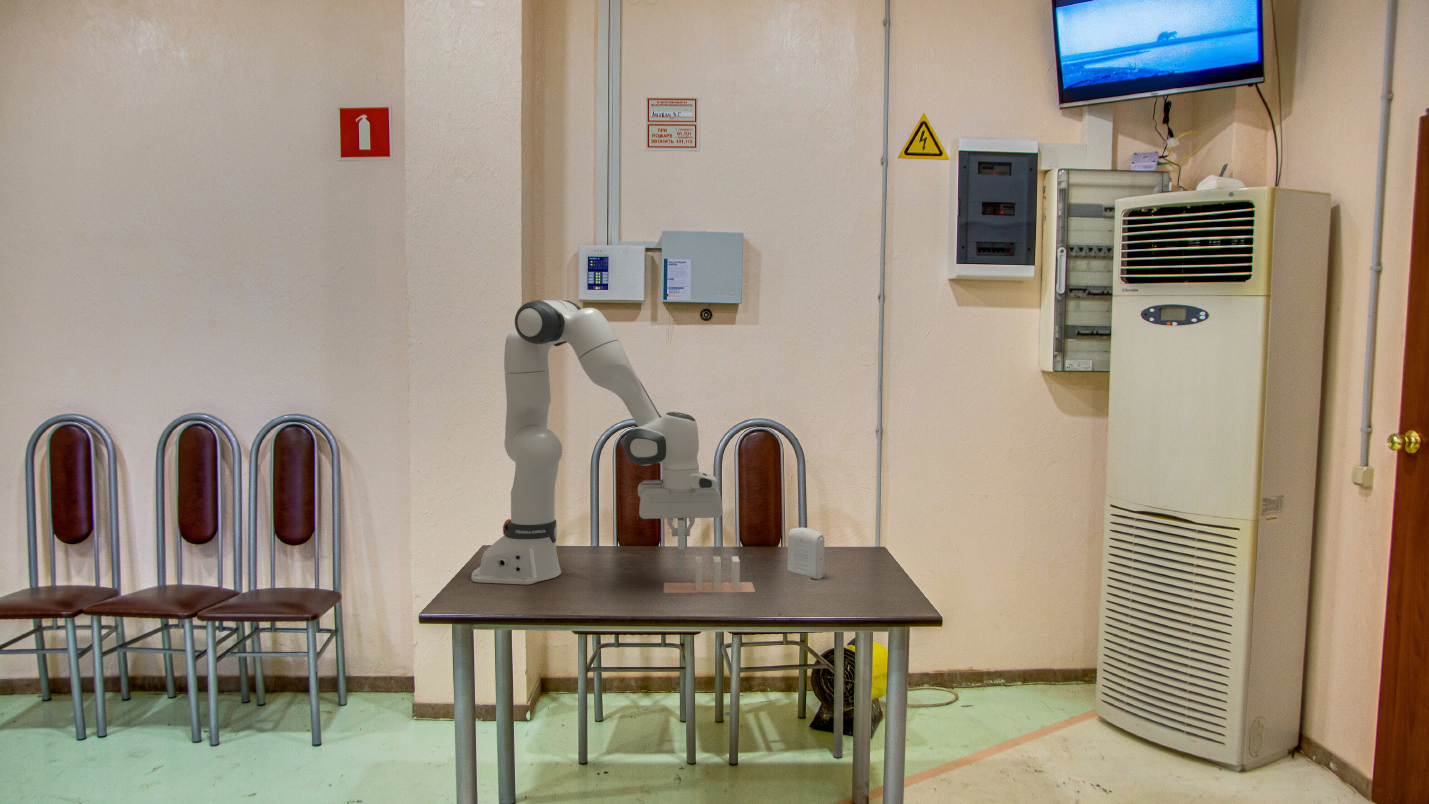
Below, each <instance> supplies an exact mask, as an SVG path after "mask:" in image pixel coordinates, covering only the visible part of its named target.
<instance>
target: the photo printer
mask: <svg viewBox="0 0 1429 804" xmlns="http://www.w3.org/2000/svg"><path fill="white" fill-rule="evenodd" d="M825 542H826V540H825V536H824V534H822V533H820V532H819V531H817V530H814V529H811V528H808V527H795V528H791V529H790V530H789V532H788V536H787V571H788V572H791V573H794V574H799V575H802V576H805V577H810V578H811V579H813V580H814V579H815V580H821V579H822V578H824V574H825Z"/></svg>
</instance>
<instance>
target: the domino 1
mask: <svg viewBox="0 0 1429 804" xmlns="http://www.w3.org/2000/svg"><path fill="white" fill-rule="evenodd" d="M676 519H677V528H678V536H677V550H685V536H684V528H685V518H676Z"/></svg>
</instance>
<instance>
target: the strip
mask: <svg viewBox="0 0 1429 804" xmlns="http://www.w3.org/2000/svg"><path fill="white" fill-rule="evenodd" d="M692 593H693V594H699V593H700V594H701V593H702V594H703V593H705V594H706V593H710V594H711V593H712V594H715V593H756V589H755V587H754V584H753V582H751V581H741V582H740V590H733V588H732V585H731V581H730V582H727V581H725V582H722V581H721V590H714V586H713V582H703V584H702V591H696V588H695V582H664V583H663V594H692Z"/></svg>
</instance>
